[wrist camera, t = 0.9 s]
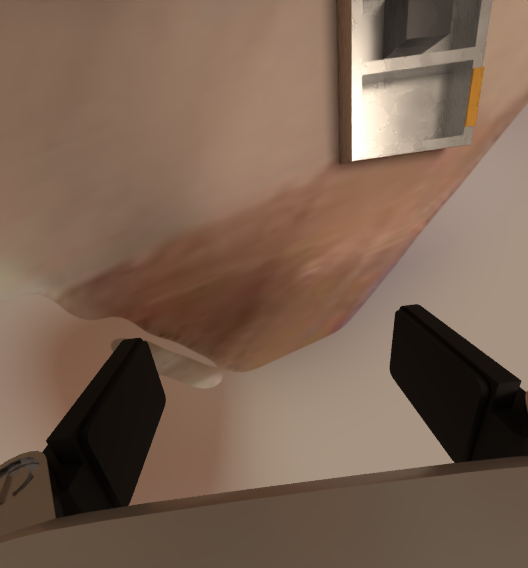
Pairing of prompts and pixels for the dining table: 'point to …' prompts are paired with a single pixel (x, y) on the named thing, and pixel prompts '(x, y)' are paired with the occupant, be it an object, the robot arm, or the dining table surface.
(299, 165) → the dining table surface
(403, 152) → the grey divided tray
